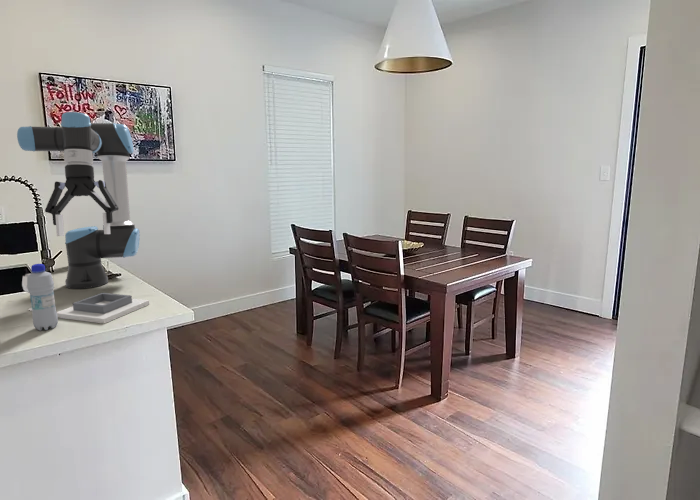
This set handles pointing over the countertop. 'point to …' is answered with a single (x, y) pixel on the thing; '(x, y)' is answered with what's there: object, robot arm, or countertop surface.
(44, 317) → the bottle
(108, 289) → the countertop surface
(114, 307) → the dock
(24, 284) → the wineglass
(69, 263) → the robot arm
